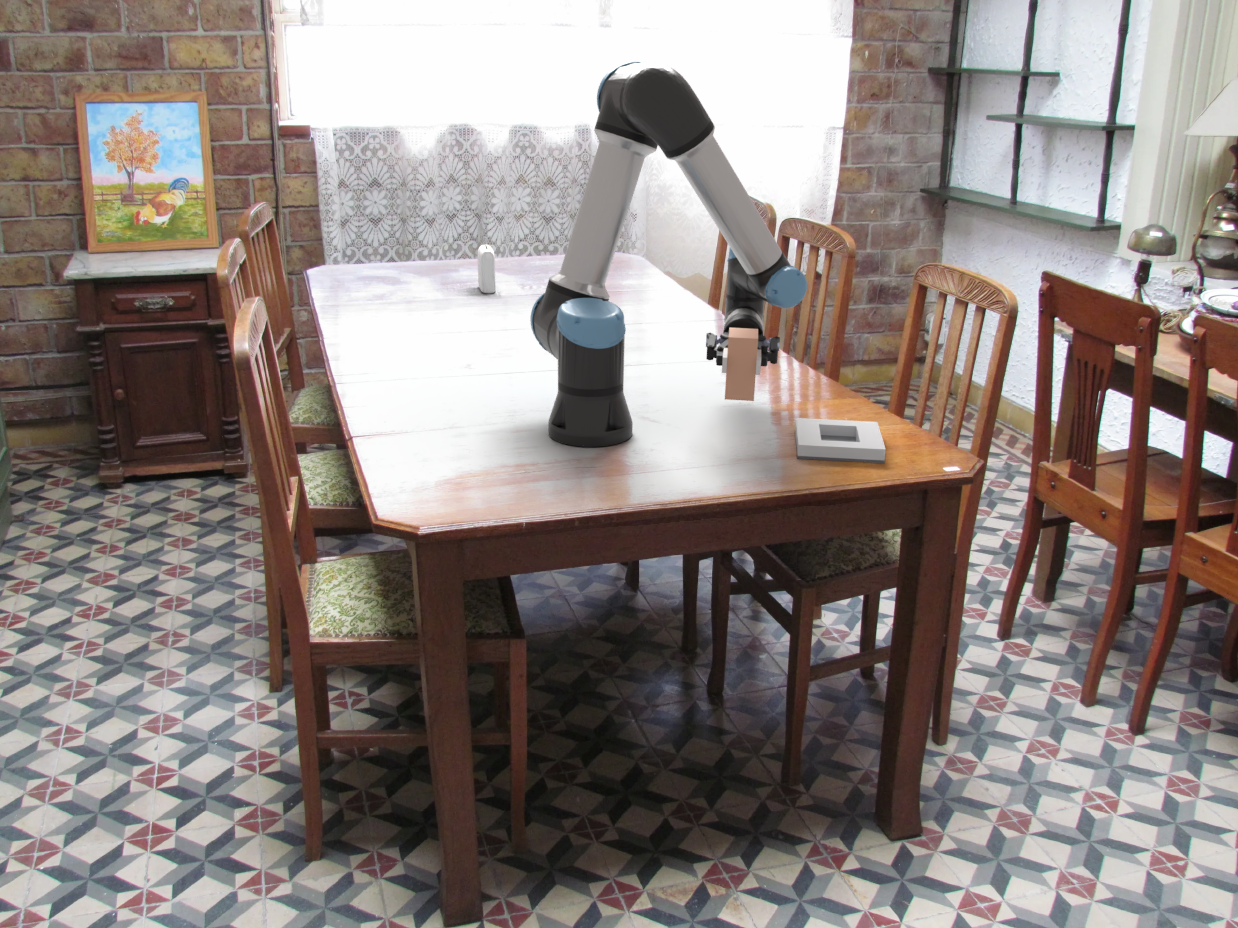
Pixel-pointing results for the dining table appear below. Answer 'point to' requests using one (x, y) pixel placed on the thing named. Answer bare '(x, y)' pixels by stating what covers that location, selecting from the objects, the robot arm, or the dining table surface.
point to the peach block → (741, 364)
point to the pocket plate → (839, 440)
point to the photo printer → (486, 269)
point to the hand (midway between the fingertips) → (741, 366)
